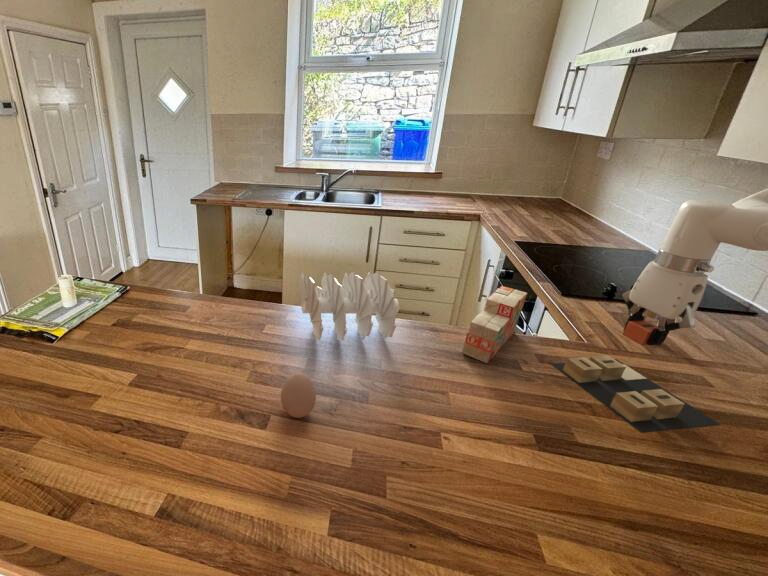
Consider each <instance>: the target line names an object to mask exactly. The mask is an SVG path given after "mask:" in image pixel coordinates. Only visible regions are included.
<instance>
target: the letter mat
mask: <svg viewBox="0 0 768 576" xmlns="http://www.w3.org/2000/svg"><path fill="white" fill-rule="evenodd" d="M613 359H614V360H616V361H618V362H619V363H621V364H622V365H624V366H626V368H625V370H624V372H623V374H622V376H621V378H620V379H619V380H607V381H602V380H601V379H599V378H598V379H597V381H594V382H582V383H578V382H577V381H576V380H574V379H573V378H572V377H570V376H569V375H568V374H566V373H565V372H564V371H563V368H564V366H565V363H566V362H557V363H550V365H551V366H552V367H553V368H555V369H556V370H557V371H559V372H560V373H561V374H563V375H564V376H566V378H568V379H570V381H572V382H573V383H575V384H576V386H579V387H580V388H581V389H582V390H584V391H585V392H586V393H588V394H589V395H590V396H592V397H593V398H594V399H596V400H597V401H598V402H600V403H601V404H602V405H603V406H605V407H607V409H608V410H610V411H611V412H613V413H614V414H615V415H616V416H618V417H620V418H621V419H622V420H624V421H625V422H626V423H627V424H629V425H630V426H631V427H633V428H634V429H635V430H637V431H638V432H639V433H641V434H643V433H653V432H654V433H655V432H664V431H672V430H684V429H693V428H694V429H695V428H704V427H715V426H722V424H721V423H719V422H718V421H716V420H714V419H713V418H711V417H710V416H708V415H706V414H705V413H703V412H702V411H700V410H698V409H697V408H695V407H694V406H692V405H690V404H689V403H687V402H685V401H684V400H683V399H681V398H679V397H678V396H676V395H675V394H673V393H671V392H670V391H668V390H666V389H665V388H664V387H662V386H661V385H659V384H657V383H655V382H654V381H652V380H651V379H649V378H648V377H646V376H644V375H643V374H641V373H640V372H638V371H636V370H635V369H633V368H631V367H629V366H628V365H627V364H625V363H623V362H622V361H621V360H619V359H617V358H613ZM655 389H662V390H664V391H665V392H667V393H668V394H670V395H672V396H673V397H675V398H676V399H678V400H679V401H681V402H683V403H684V406H683V408H682V409H681V411H680V413H679V414H678V416H677V417H675V418H665V419H656V418H655V417H653V416H652V418H651V420H644V421H633V422H630V421H629V420H628V419H626V418H625V417H624V416H622V415H621V414H620V413H618V412H617V411H616V410H614V409H613V408H612V407H610V405H611V403H612V401H613V399H614V397H615V395H616V393H620V392H632V391H636V392H638V393H639V394H641V392H642V391H644V390H655Z"/></svg>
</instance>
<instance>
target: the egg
mask: <svg viewBox="0 0 768 576" xmlns="http://www.w3.org/2000/svg"><path fill="white" fill-rule="evenodd" d="M316 400H317V391H316V387H315V385H314V382H313V381H312V379H311V378H310V376H308V374H305V373H303V372H295V373H292V374H291V375H289V376H288V377H287V379H286V380H285V381H284V383H283V385H282V388H281V392H280V402H281V405H282V408H283V410H284V411H285V412H286V414H288V415H289V416H291V417H293V418H296V419H299V418H300V419H302V418H304V417H306V416H308V415H309V414H310V413H311V412H312V411H313V409H314V406H315V405H316Z"/></svg>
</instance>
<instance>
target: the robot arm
mask: <svg viewBox="0 0 768 576" xmlns="http://www.w3.org/2000/svg"><path fill="white" fill-rule="evenodd" d="M721 243H723V244H725V245H731V246H735V247H738V248H743V249H746V250H751V251H760V252H768V188H765V189H763V190H761V191H758V192H756V193H753V194H751V195H748V196H746V197H743V198H741V199H739V200H737V201H735V202H733V203H732V204H731V203H729V202H724V201H719V200H713V199H705V198H704V199H702V198H694V199H693V198H692V199H688V200H686V201H684V202H683V203H682V204H681V205H680V207H679V208H678V211H677V213H676V214H675V217H674V218H673V222H672V223H671V225H670V227H669V229H668V231H667V234H666V235H665V238H664V240H663V242H662V243H661V246H660V248H659V250H658V251H657V254H656V256H655V258H654V260H651V261H650V262H649V263H648V264H646V266H645V268H643V270H642V272H641V273H640V274H639V276H638V277H637V279H636V281H635V283H634V284H633V286H632V287H631V289H629V290H627V291H624V292H623V293H622V294H621V296H622V298H623V300H624V302H625V303H626V304H625V305H626V307H627V309H628V311H627V315H628V318H627V320H626V322H625V324H624V328H623V330H622V332H624V330H625V328H626V326H627V324H628V322H629V321H643V320H644V316H642V315H643V314H644V313H645V312H646V311H647V310H649V311H651V312H654V313H656V314H658V315H660V319H659V321H658V323H657V326H658V328H655V329H653V330H652V333H651V335H650V337H649V339H648V340H647V342H646V343H647V344H648V345H647V346H650V347H651V346H661V345H662V344H663V343H665V341H666V339H667V337H668V335H669V333H670V332H671V331H675V330H681V329H687V328H688V329H689V328H695V327H696V325H697V324H696V321H695V320H696V319H695V316H694V315H695V314H696V313H697V310H698V307H699V306H700V304H701V301H702V299H703V296H704V294H705V291H706V288H707V283H708V278H709V275H708V274H706V273H712V272H713V271H714V270H715V266H714V265H711V263H712V259H713V257H714V256H715V253H716V252H717V250H718V248H719V246H720V245H721ZM679 317H680V318H681V321H678V318H679Z"/></svg>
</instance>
